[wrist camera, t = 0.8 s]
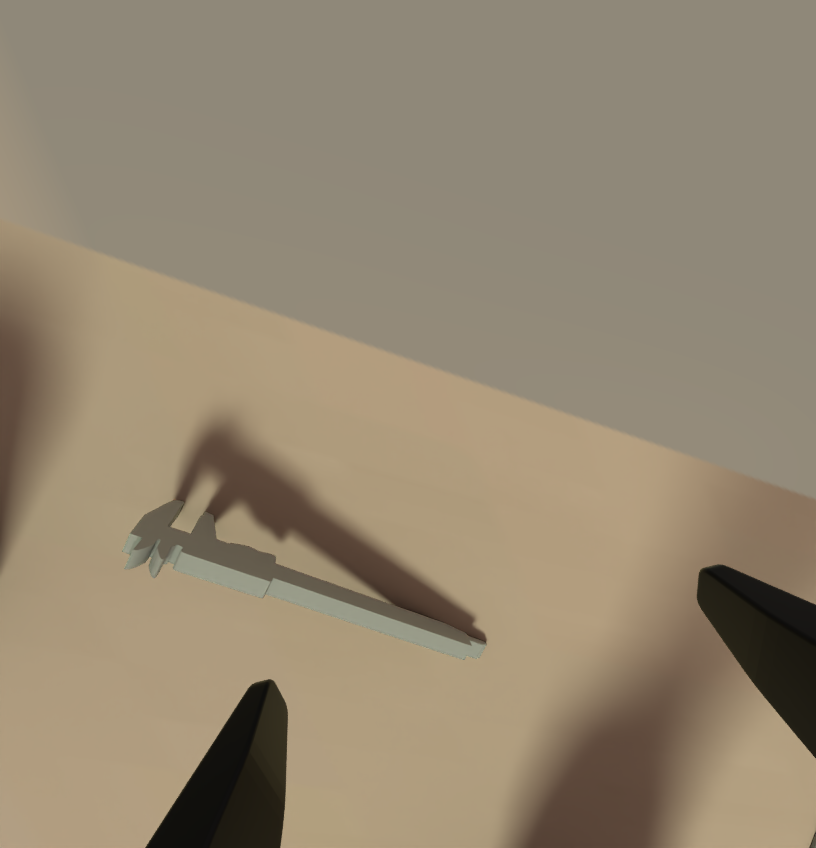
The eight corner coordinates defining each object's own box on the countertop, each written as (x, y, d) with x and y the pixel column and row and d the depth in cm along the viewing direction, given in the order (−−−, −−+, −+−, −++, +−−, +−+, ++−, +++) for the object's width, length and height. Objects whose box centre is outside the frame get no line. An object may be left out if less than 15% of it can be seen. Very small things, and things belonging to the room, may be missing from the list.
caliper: (172, 512, 24) (92, 557, 18) (179, 496, 24) (102, 535, 18) (477, 653, 26) (502, 741, 19) (485, 638, 25) (513, 722, 19)
